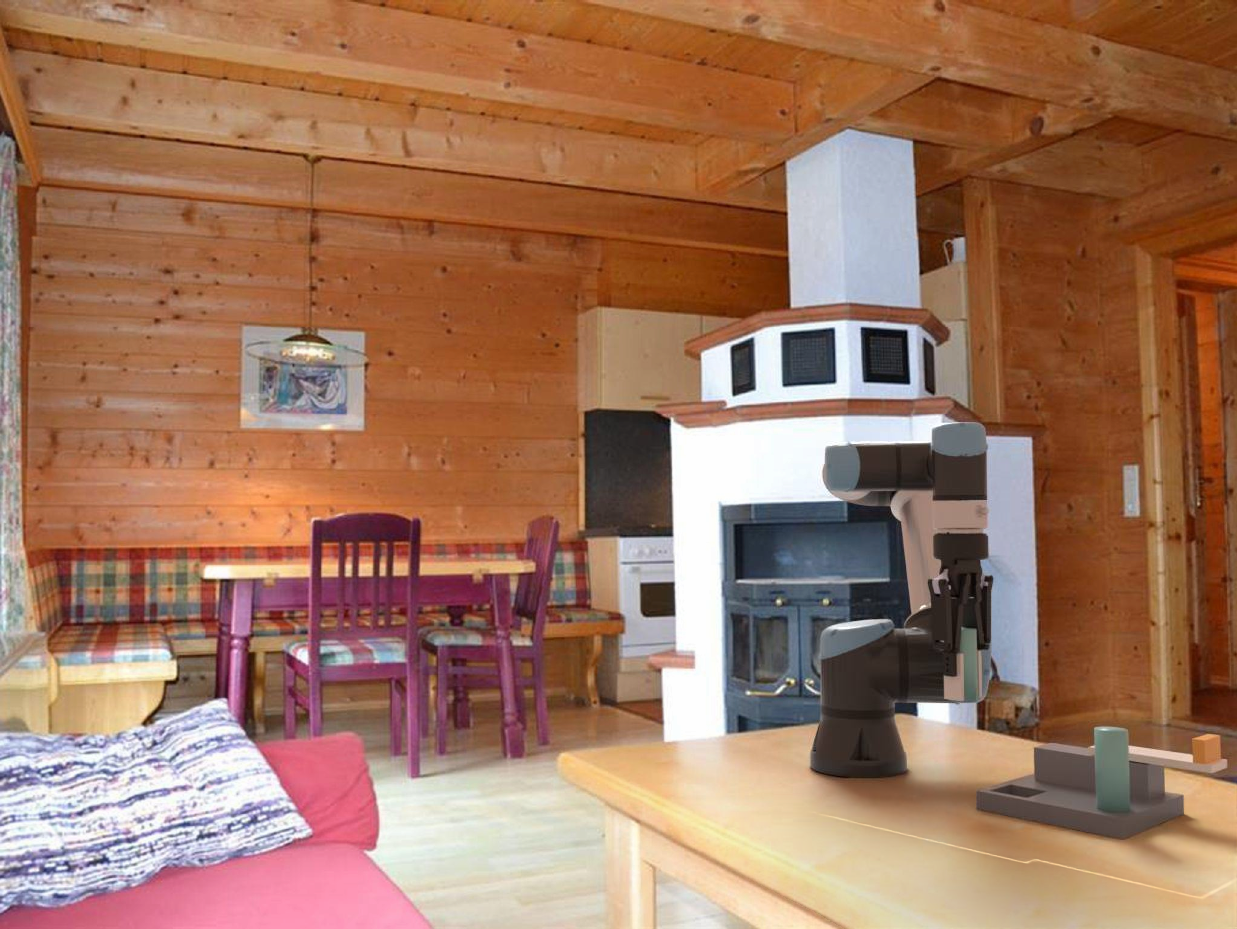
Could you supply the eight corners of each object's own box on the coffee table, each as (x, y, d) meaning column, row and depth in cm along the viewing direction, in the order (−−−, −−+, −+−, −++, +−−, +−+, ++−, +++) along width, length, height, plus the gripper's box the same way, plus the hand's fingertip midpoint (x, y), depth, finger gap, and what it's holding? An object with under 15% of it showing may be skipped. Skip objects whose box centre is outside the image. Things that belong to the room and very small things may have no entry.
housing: (976, 809, 155) (974, 716, 156) (1042, 788, 167) (1040, 702, 168) (1122, 839, 140) (1120, 736, 141) (1184, 813, 152) (1181, 719, 153)
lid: (1088, 754, 156) (1087, 724, 156) (1105, 749, 159) (1104, 720, 159) (1211, 773, 144) (1210, 741, 144) (1227, 767, 147) (1226, 736, 148)
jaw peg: (942, 700, 161) (941, 628, 161) (958, 696, 164) (956, 626, 164) (968, 703, 158) (966, 631, 158) (983, 700, 161) (982, 628, 161)
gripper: (950, 533, 153) (953, 708, 152) (1015, 530, 164) (1019, 694, 164) (902, 532, 159) (905, 701, 158) (969, 530, 170) (972, 688, 169)
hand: (963, 697), depth 161 cm, fingers closed on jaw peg, 4 cm apart
